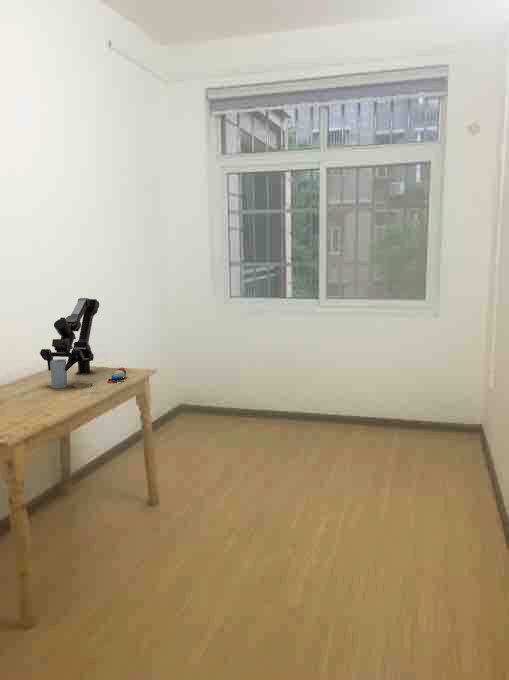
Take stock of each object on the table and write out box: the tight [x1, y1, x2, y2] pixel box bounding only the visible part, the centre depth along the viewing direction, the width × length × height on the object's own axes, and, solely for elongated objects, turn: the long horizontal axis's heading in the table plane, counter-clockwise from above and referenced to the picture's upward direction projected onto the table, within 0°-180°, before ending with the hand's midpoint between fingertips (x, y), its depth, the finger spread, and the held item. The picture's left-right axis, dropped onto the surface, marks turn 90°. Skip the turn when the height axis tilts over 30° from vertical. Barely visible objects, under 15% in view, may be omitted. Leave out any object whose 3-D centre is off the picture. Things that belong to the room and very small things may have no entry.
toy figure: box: [106, 367, 127, 384], centre depth 261 cm, size 8×5×15 cm
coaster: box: [72, 381, 94, 388], centre depth 251 cm, size 9×9×1 cm
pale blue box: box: [50, 358, 68, 389], centre depth 247 cm, size 5×6×12 cm
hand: (57, 370), depth 246 cm, fingers open, 7 cm apart
